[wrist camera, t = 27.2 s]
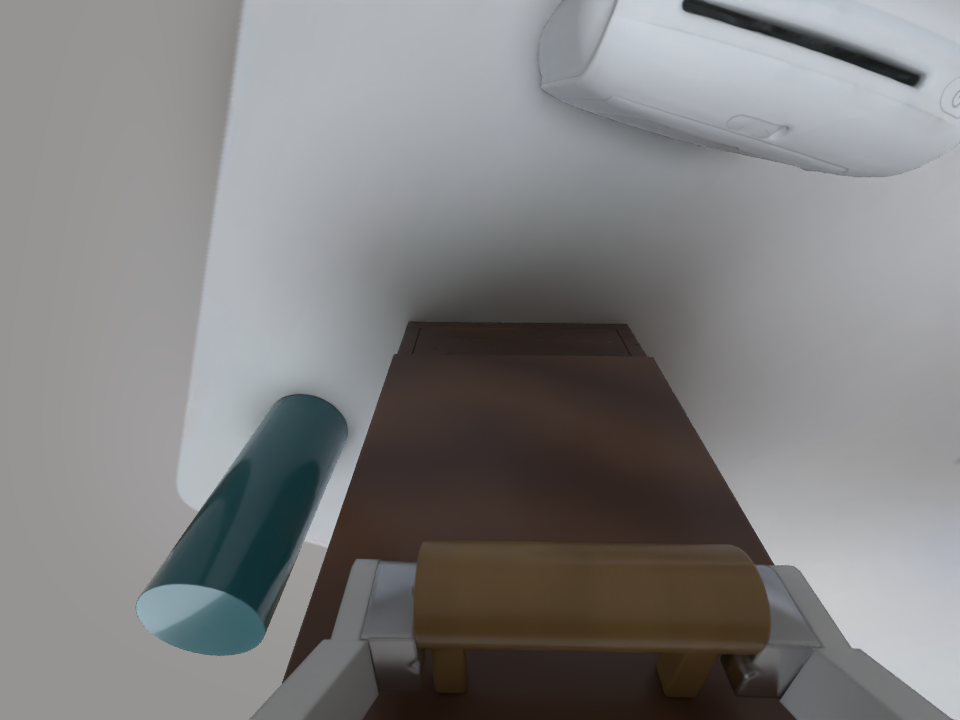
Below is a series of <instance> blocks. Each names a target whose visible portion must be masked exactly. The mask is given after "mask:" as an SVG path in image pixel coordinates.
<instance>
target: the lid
mask: <svg viewBox="0 0 960 720" xmlns="http://www.w3.org/2000/svg"><path fill="white" fill-rule="evenodd" d="M356 559H381V560H411V561H417V565H416V573H415V582H414V595H413V636H414V640H415V644H416V646H417V647H418V648H421V649H425V653H426V656H425V665H424V673H423V682H422V690H421V691H378V693H379V695H378V696H377V698H376V699H375V701H374V702H373V704H372V706H371V707H370V709H369V710H368V712H367V713H366V715H365V716H364V718H363V719H362V720H796V719H795V717H794V716H793V715H792V714H791V713H790V712H789V711H788V710H787V709H786V708H785V707H784V706H783V704H782V703H781V702H780V700H781V699H777V698H756V697H736V696H735V694H734V692H733V689H732V687H731V685H730V682H729V680H728V677H727V675H726V673H725V670H724V668H723V666H722V663H721V661H720V658H721V654H738V655H755V654H758V653H760V652H761V651H763V650H764V649H765V648H766V646H767V644H768V642H769V639H770V634H771V612H770V605H769V600H768V596H767V592H766V589H765V586H764V583H763V581H762V578H761V576H760V574H759V572H758V570H757V568H756V566H755V565H766V566H767V565H774V563H773V562H772V560H771V558H770V557H769V555H768V553H767V552H766V550H765V548H764V546H763V545H762V543H761V541H760V540H759V538H758V536H757V534H756V533H755V531H754V529H753V528H752V526H751V524H750V522H749V521H748V519H747V517H746V516H745V514H744V512H743V510H742V509H741V507H740V505H739V504H738V502H737V500H736V498H735V497H734V495H733V493H732V492H731V490H730V488H729V487H728V485H727V483H726V481H725V480H724V478H723V476H722V475H721V473H720V471H719V469H718V468H717V466H716V464H715V463H714V461H713V459H712V457H711V456H710V454H709V452H708V451H707V449H706V447H705V445H704V444H703V442H702V440H701V439H700V437H699V435H698V433H697V432H696V430H695V428H694V427H693V425H692V423H691V422H690V420H689V418H688V416H687V415H686V413H685V411H684V410H683V408H682V406H681V404H680V403H679V401H678V399H677V398H676V396H675V394H674V392H673V391H672V389H671V387H670V386H669V384H668V382H667V380H666V379H665V377H664V375H663V374H662V372H661V370H660V368H659V367H658V365H657V363H656V362H655V360H654V358H653V357H626V356H537V355H447V354H394V356H393V359H392V362H391V364H390V367H389V370H388V373H387V376H386V379H385V382H384V385H383V388H382V391H381V394H380V397H379V400H378V403H377V406H376V409H375V411H374V414H373V417H372V420H371V423H370V426H369V429H368V432H367V435H366V438H365V441H364V444H363V447H362V450H361V453H360V456H359V458H358V461H357V464H356V467H355V470H354V473H353V476H352V479H351V482H350V485H349V488H348V491H347V494H346V497H345V500H344V503H343V505H342V508H341V511H340V514H339V517H338V520H337V523H336V526H335V529H334V532H333V535H332V538H331V541H330V544H329V547H328V549H327V552H326V555H325V558H324V561H323V564H322V567H321V570H320V573H319V576H318V579H317V582H316V585H315V588H314V591H313V594H312V597H311V599H310V602H309V606H308V608H307V611H306V614H305V617H304V620H303V623H302V626H301V629H300V632H299V635H298V638H297V641H296V643H295V646H294V649H293V652H292V655H291V658H290V661H289V664H288V667H287V670H286V673H285V676H284V679H283V682H284V681H285V680H286V679H287V678H288V677H289V676H290V675H291V674H292V673H293V672H294V671H295V669H296V668H297V667H298V666H299V665H300V664H301V663H302V662H303V661H304V660H305V659H306V658H307V657H308V655H309V654H310V653H311V652H312V651H313V650H314V649H315V648H316V647H317V646H318V645H319V644H320V642H321V641H322V640H326V639H331V636H332V633H333V630H334V626H335V623H336V619H337V616H338V612H339V609H340V606H341V602H342V599H343V595H344V592H345V588H346V585H347V582H348V578H349V575H350V571H351V568H352V566H353V564H354V562H355V560H356ZM283 682H282V684H283Z"/></svg>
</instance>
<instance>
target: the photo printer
mask: <svg viewBox="0 0 960 720" xmlns="http://www.w3.org/2000/svg"><path fill="white" fill-rule="evenodd" d="M538 61H539V68H540V72H541V75H542V77H543V80H542V83H541V85H540V86H541V88H542V89H543V90H544V91H545V92H547V93H549V94H550V95H552V96H553V97H555V98H557V99H559V100H560V101H563V102H565V103H567V104H570V105H572V106H575V107H578V108H580V109H581V110H586V111H589V112H592V113H594V114H597V115H600V116H603V117H606V118H609V119H612V120H615V121H618V122H621V123H624V124H628V125H631V126H634V127H637V128H641V129H644V130H647V131H650V132H653V133H657V134H660V135H664V136H667V137H671V138H674V139H678V140H681V141H685V142H689V143H693V144H696V145H698V146H705V147H710V148H715V149H719V150H724V151H729V152H733V153H738V154H743V155H747V156H752V157H757V158H761V159H766V160H771V161H775V162H780V163H784V164H789V165H793V166H797V167H800V168H802V169H803V170H806V171H818V172H823V173H831V174H836V175H843V176H853V177H886V176H893V175H898V174H902V173H904V172H907V171H910V170H913V169H916V168H918V167H921V166H923V165H925V164H926V163H928V162H930V161H932V160H934V159H936V158H938V157H940V156H941V155H943V154H944V153H946V152H947V151H949V150H950V149H952V148H953V147H955V146H956V145H957V144H959V143H960V0H564V1H563V2H562V3H561V5H560V6H559V7H558V8H557V9H556V10H555V12H554V13H553V14H552V16H551V17H550V19H549V20H548V21H547V23H546V25H545V27H544V30H543V32H542V35H541V39H540V43H539V50H538Z"/></svg>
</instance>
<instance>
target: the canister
mask: <svg viewBox="0 0 960 720" xmlns="http://www.w3.org/2000/svg"><path fill="white" fill-rule="evenodd" d="M346 439H347V426H346V422H345V420H344V418H343V417H342V415H341V414H340V413H339V411H338V410H337V409H336V408H335V407H333V406H332V405H331V404H329V403H328V402H326V401H324V400H322V399H319V398H317V397H313V396H308V395H292V396H288V397H285V398H283V399H281V400H279V401H278V402H276V403H275V404H274V405H273V407H272V408H271V409H270V411H269V412H268V414H267V415H266V417H265V418H264V419H263V421H262V422H261V424H260V425H259V427H258V428H257V429H256V431H255V432H254V434H253V435H252V437H251V438H250V439H249V441H248V442H247V444H246V445H245V447H244V448H243V449H242V451H241V452H240V454H239V455H238V457H237V458H236V459H235V461H234V462H233V464H232V465H231V467H230V468H229V469H228V471H227V472H226V474H225V475H224V477H223V478H222V479H221V481H220V482H219V484H218V485H217V487H216V488H215V489H214V491H213V492H212V494H211V495H210V497H209V498H208V499H207V501H206V502H205V504H204V505H203V507H202V508H201V509H200V511H199V512H198V514H197V515H196V517H195V518H194V520H193V521H192V522H191V524H190V525H189V527H188V528H187V530H186V531H185V532H184V534H183V535H182V537H181V538H180V539H179V541H178V542H177V544H176V545H175V547H174V548H173V549H172V551H171V552H170V554H169V555H168V557H167V558H166V560H165V561H164V562H163V564H162V565H161V567H160V568H159V570H158V571H157V572H156V574H155V575H154V577H153V578H152V579H151V581H150V582H149V584H148V585H147V587H146V588H145V589H144V591H143V592H142V594H141V595H140V597H139V598H138V600H137V603H136V613H137V616H138V618H139V620H140V622H141V623H142V624H143V626H144V627H146V629H147V630H148V631H149V632H151V633H152V634H153V635H155V636H156V637H158V638H159V639H161V640H163V641H165V642H166V643H168V644H171V645H173V646H175V647H178V648H181V649H183V650H187V651H191V652H194V653H200V654H205V655H217V656H221V655H222V656H224V655H235V654H240V653H244V652H247V651H249V650H251V649H253V648H255V647H256V646H257V645H259V643H261V641H262V640H263V638H264V635H265V633H266V631H267V628H268V626H269V624H270V621H271V619H272V616H273V614H274V611H275V609H276V607H277V604H278V602H279V600H280V597H281V595H282V592H283V590H284V588H285V585H286V583H287V580H288V578H289V576H290V573H291V571H292V568H293V566H294V563H295V561H296V559H297V556H298V554H299V552H300V549H301V547H302V544H303V542H304V540H305V537H306V535H307V532H308V530H309V528H310V525H311V523H312V520H313V518H314V516H315V513H316V511H317V508H318V506H319V504H320V501H321V499H322V496H323V494H324V492H325V489H326V487H327V484H328V482H329V480H330V477H331V475H332V472H333V470H334V468H335V465H336V463H337V460H338V458H339V456H340V453H341V451H342V448H343V446H344V444H345V441H346Z"/></svg>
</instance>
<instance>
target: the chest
mask: <svg viewBox="0 0 960 720" xmlns="http://www.w3.org/2000/svg"><path fill="white" fill-rule="evenodd" d="M397 354H447V355H537V356H626V357H647V356H646V354H645V352H644V351H643V349H642V347H641V346H640V344H639V343H638V341H637V339H636V338H635V336H634V334H633V333H632V331H631V330H630V328H629V326H628V325H627V324H565V323H468V322H408V325H407V327H406V331H405V333H404V336H403V339H402V342H401V345H400V347H399V350H398V353H397Z"/></svg>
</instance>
